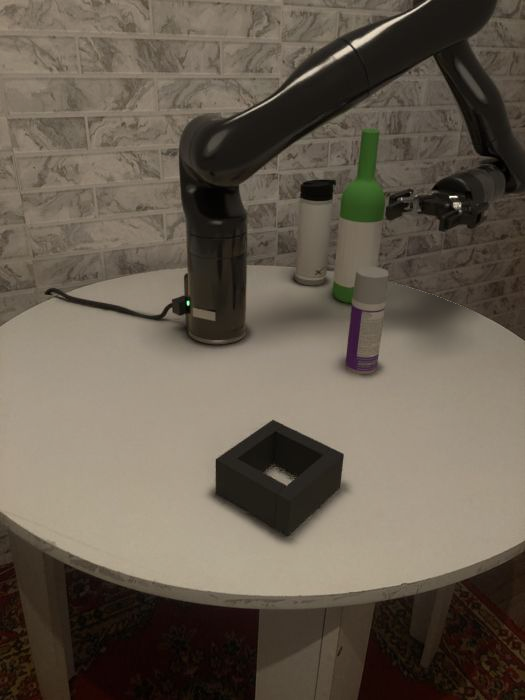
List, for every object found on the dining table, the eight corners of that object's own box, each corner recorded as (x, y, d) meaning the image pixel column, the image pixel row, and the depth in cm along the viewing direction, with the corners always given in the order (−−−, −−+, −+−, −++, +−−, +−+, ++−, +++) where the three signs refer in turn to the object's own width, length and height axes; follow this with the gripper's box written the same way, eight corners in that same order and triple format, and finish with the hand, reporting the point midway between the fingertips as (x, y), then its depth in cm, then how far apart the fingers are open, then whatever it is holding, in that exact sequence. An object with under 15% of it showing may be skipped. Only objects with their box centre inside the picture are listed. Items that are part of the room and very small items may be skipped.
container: (342, 359, 91) (352, 265, 84) (372, 358, 91) (384, 265, 84) (348, 374, 87) (359, 277, 80) (380, 374, 87) (393, 277, 80)
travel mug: (325, 287, 117) (334, 184, 107) (292, 284, 118) (298, 181, 109) (329, 276, 122) (337, 177, 113) (297, 273, 123) (303, 175, 114)
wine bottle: (376, 306, 109) (398, 134, 95) (333, 304, 109) (350, 132, 95) (369, 290, 116) (390, 127, 102) (330, 289, 116) (344, 126, 102)
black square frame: (215, 492, 63) (215, 459, 61) (271, 451, 70) (272, 419, 68) (287, 536, 58) (290, 501, 56) (340, 486, 65) (344, 453, 63)
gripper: (425, 165, 99) (373, 185, 88) (510, 178, 91) (464, 201, 80) (420, 210, 103) (370, 234, 92) (501, 226, 94) (456, 254, 84)
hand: (414, 219), depth 86 cm, fingers open, 8 cm apart
